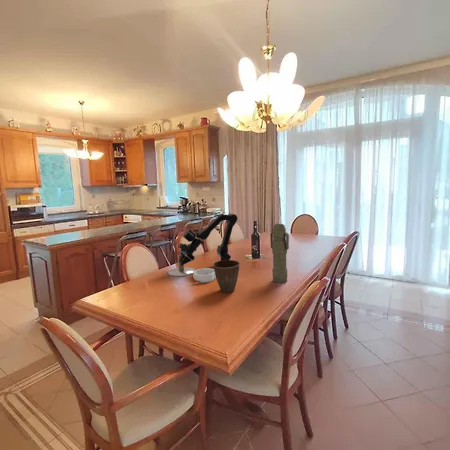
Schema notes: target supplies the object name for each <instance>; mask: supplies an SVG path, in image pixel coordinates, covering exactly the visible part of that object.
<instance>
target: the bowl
mask: <svg viewBox="0 0 450 450" xmlns="http://www.w3.org/2000/svg"><path fill="white" fill-rule="evenodd" d="M192 275H193V280H195V281H196V282H197V283H202V284H203V283H204V284H206V283H212V282H214V281H215V280H216V276H215V272H214V268H210V267H209V268H207V267H203V268H198V269H195V271H194V272H193V274H192Z"/></svg>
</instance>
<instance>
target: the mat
mask: <svg viewBox="0 0 450 450" xmlns="http://www.w3.org/2000/svg"><path fill="white" fill-rule="evenodd" d="M193 269H194V271H195V270H196V269H195V268H193ZM166 275H167V276H168V277H174V278H182V277H189V276H192V275H193V273H192V274H190V275H186V276H171V275H169V274H168V271H167V272H166Z"/></svg>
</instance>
